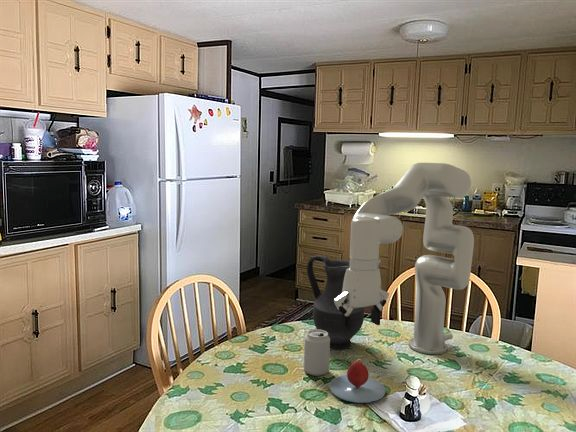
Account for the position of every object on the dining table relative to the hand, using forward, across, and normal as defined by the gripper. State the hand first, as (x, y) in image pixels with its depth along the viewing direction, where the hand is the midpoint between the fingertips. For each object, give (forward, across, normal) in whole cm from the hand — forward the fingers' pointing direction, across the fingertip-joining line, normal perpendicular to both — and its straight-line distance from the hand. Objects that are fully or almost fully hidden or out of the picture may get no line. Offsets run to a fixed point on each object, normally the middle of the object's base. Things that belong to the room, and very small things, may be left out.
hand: (360, 326), depth 129 cm
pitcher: (+19, -12, -31) cm, 38 cm away
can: (+18, +4, -15) cm, 24 cm away
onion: (+17, 0, 0) cm, 17 cm away
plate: (+18, 0, 0) cm, 18 cm away
